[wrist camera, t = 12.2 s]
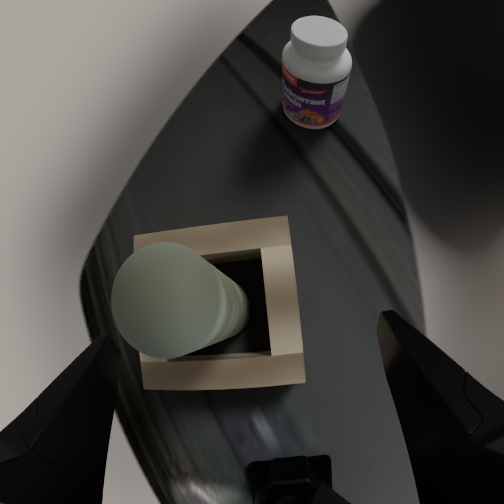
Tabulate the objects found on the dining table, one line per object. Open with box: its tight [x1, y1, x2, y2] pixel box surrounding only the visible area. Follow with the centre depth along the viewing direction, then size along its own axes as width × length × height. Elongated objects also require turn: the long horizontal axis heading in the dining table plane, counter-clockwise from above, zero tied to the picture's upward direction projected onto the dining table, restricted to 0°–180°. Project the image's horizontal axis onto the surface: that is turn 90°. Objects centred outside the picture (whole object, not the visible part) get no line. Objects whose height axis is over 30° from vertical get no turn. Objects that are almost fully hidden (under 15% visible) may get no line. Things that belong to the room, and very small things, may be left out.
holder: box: [134, 216, 306, 390], centre depth 22 cm, size 11×11×4 cm
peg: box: [111, 242, 251, 359], centre depth 17 cm, size 4×4×12 cm
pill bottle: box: [282, 16, 352, 129], centre depth 21 cm, size 5×5×10 cm
